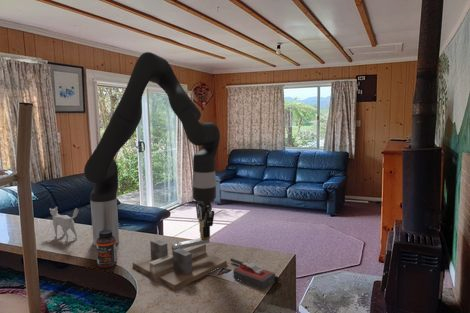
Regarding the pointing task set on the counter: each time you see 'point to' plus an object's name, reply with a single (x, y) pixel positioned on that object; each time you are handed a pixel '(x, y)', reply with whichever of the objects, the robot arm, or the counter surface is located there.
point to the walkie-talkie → (254, 274)
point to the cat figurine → (63, 222)
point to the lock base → (177, 277)
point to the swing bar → (192, 242)
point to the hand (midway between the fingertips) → (204, 234)
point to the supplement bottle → (106, 249)
